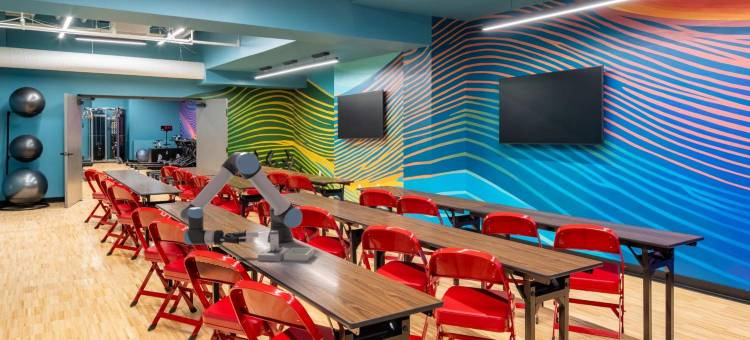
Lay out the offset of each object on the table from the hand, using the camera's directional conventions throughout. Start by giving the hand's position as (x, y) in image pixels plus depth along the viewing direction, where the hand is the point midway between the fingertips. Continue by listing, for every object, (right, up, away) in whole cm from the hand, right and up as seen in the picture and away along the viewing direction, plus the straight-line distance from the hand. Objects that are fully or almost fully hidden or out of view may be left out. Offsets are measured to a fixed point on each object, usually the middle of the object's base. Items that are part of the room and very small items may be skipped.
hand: (255, 237), depth 258 cm
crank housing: (+10, -11, +1) cm, 15 cm away
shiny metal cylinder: (+10, -11, +1) cm, 15 cm away
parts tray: (+24, -11, -2) cm, 26 cm away
